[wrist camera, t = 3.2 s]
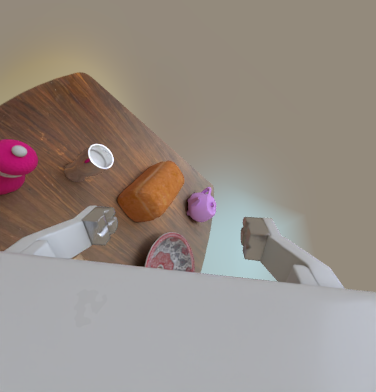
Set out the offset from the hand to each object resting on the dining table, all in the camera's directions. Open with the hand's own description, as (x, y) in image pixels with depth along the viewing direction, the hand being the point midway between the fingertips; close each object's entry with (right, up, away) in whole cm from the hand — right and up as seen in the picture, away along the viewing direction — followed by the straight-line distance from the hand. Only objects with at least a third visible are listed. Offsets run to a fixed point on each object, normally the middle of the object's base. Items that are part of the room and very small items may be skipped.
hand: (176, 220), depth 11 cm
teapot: (+2, -4, +89) cm, 89 cm away
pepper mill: (-42, +5, +27) cm, 50 cm away
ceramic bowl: (-11, -29, +59) cm, 67 cm away
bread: (-18, +3, +61) cm, 64 cm away
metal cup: (-34, +9, +41) cm, 53 cm away
